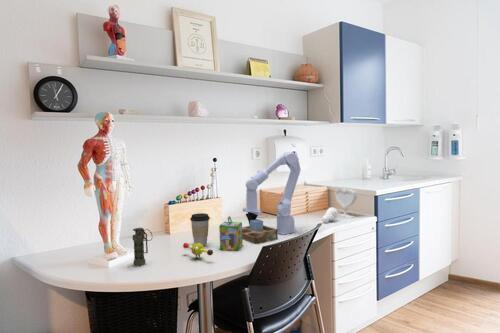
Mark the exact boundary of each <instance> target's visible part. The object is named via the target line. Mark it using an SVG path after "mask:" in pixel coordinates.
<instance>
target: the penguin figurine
mask: <svg viewBox="0 0 500 333" xmlns="http://www.w3.org/2000/svg"><path fill="white" fill-rule="evenodd" d="M338 214H339V212H338V209H337V208H336V207H334V206H333V207H329V208H328V209H327V210H326V212H325V213H324V215H323V216H322V217H321V221H322V222H323V224H328V223H329V222H330V220H331V221H333V222H334V223H336V222H337V218H338V216H339V215H338ZM328 220H329V221H328Z"/></svg>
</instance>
